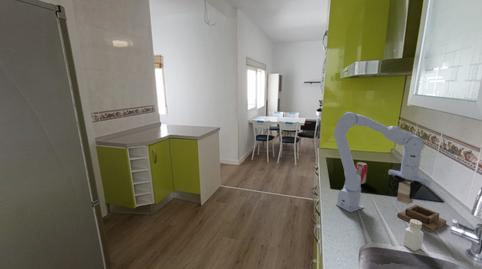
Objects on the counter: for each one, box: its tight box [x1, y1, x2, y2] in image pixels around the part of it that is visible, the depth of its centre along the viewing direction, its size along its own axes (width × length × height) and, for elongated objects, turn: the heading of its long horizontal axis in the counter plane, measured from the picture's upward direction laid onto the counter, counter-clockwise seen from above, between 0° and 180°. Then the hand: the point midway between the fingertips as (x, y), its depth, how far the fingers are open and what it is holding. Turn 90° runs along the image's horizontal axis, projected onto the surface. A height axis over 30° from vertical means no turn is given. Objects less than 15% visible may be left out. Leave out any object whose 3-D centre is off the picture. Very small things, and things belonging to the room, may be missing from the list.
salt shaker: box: [402, 219, 424, 252], centre depth 74 cm, size 4×4×10 cm
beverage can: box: [355, 161, 369, 185], centre depth 128 cm, size 6×6×12 cm
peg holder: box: [396, 204, 448, 233], centre depth 90 cm, size 12×12×4 cm
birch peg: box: [396, 180, 414, 206], centre depth 90 cm, size 4×4×8 cm
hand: (405, 195), depth 90 cm, fingers closed on birch peg, 4 cm apart
